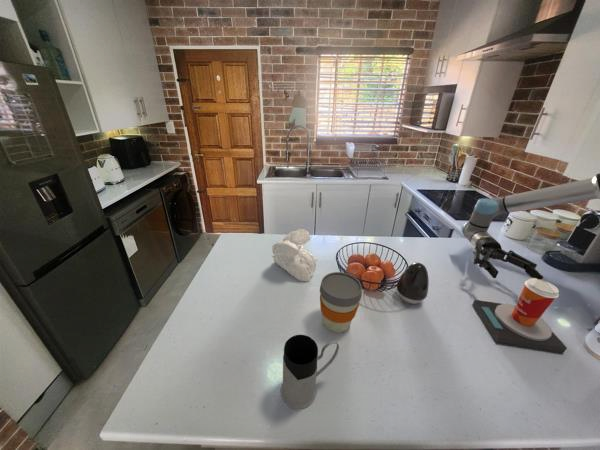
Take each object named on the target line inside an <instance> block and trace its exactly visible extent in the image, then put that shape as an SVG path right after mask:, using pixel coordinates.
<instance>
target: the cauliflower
mask: <svg viewBox="0 0 600 450" xmlns="http://www.w3.org/2000/svg"><path fill="white" fill-rule="evenodd" d="M310 240H311V234H310V233H309V231H307V230H306V229H303V228H299V229H297V230H292V231H290V232H288V233H287V234H286V235H285V236H284V237H283V238H282V240H281V241H277V242H276V243H274V244H273V245H272V247H271V252H272V255H271V258H273V259H272V260H273V262H274V263H275V264H276V266H280V268H281V269H283V270H284V271H287V273H288V274H289V275H290V276H292V277H294V278H295V279H296V280H298V281H301V282H308V281H310V280H311V278H313V276H314V275H315V273H316V270H317V261H318V259H317V258H315V256H314V254H313V253H311V250H306V249H305V247H304V246H305V245H306V244H307V243H309V241H310Z"/></svg>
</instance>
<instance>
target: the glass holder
mask: <svg viewBox="0 0 600 450" xmlns="http://www.w3.org/2000/svg"><path fill="white" fill-rule="evenodd" d="M332 345H336V347H335V351H334V353H333V355H332V356H331V357H330V359H329V360H328V361H327V362H326V363H325V364H324V365H323V366H322V367H321V368H320V369H319V370H318V361H320V360H321V359H322V358H323V357H324V353H325V350H326V349H327V348H328V347H329V346H332ZM339 350H340V344H339V343H338V341H337V340H331V341H330V340H329V341H328V342H326V343H325V344H324V345H323V346H322V348H321V350H320V355H319V348H318V344H317V343H316V341H315V340H314V339H313V338H312V337H311V336H309V335H305V334H295V335H293V336H291V337H289V338H288V339H287V340H286V341H285V344H284V345H283V355H282V383H281V387H280V395H281V398H282V401H283V402H284V403H285V404H286V405H287V406H288V407H289V408H291V409H293V410H298V411H299V410H304V409H305V410H306V409H307V408H308V407H310V406H311V405H312V404H313V403H314V402H315V400H316V397H317V385H316V384H317V383H316V382H317V378H318V376H319V375H320V374H321V373H323V372H324V371H325V370H326V369H327V368H328V367H330V365H331V364H332V363H333V361H335V359H336V358H337V355H338V353H339Z"/></svg>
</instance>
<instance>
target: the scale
mask: <svg viewBox="0 0 600 450" xmlns="http://www.w3.org/2000/svg"><path fill="white" fill-rule="evenodd" d="M515 306H516V304H512V303H500V302H493V301H485V300H478V299H474V300H473V302H472V307H473V310H474V311H475V312H476V314H477V315H478V318H480V320H481V322H482V323H483V326H484V327H485V328H486V330H487V331H488V333H489V335H490V336H491V338H492V340H493V341H494V343H495V344H498V345H504V346H505V345H506V346H511V347H517V348H522V349H523V348H524V349H530V350H535V351H536V350H537V351H543V352H550V353H557V354H564V353H565V351H567V349H568V346H566V345H565V344H564V343H563V342H562V340H561V339H560V338H559V337H558V336H557V335H556V334H555V333H554V332H553V330H552V328H551V326H550V325H549V324H548V323H547V322H546V320H544V319H543V318H542V317H540V318H539V319H538V320H537V322H536V323H535V324H534V325H533V326H531V327H528V326H524V325H522V324H520V323H518V322H516V321H515V320H514V319H513V318H512V313H513V310H514V308H515Z"/></svg>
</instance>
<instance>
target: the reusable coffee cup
mask: <svg viewBox="0 0 600 450" xmlns="http://www.w3.org/2000/svg"><path fill="white" fill-rule="evenodd" d="M362 292H363V286H362V283H361V282H360V280H359V279H358V278H356V277H355V276H354V275H352V274H350V273H346V272H342V271H334V272H330V273H328V274H327V273H326V275H324V276H323V277H322V279H321V281H320V287H319V293H320V294H319V305H320V307H319V308H320V312H321V316H322V323H323V325H324V326H325V328H326V329H328V330H330V331H331V332H333V333H342V332H346V331H347V330H348V329H349V328H350V326H351V324H352V321H353V319H354V318H355V317H356V314H357V311H358V309H359V307H360V301H361V300H362V295H363V293H362Z"/></svg>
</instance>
